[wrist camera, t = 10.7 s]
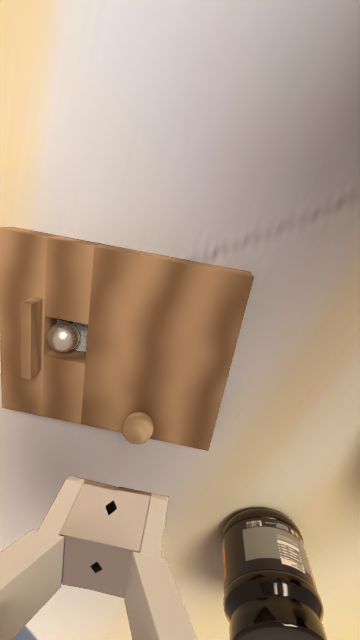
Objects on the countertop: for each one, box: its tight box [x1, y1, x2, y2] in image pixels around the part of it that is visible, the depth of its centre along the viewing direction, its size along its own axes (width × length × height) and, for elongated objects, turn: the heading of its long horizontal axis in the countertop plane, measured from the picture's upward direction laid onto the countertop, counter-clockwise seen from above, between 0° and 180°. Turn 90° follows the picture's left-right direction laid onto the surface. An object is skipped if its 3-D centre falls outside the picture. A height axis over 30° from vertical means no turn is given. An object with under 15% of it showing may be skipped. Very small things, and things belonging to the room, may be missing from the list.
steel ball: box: [47, 322, 80, 352], centre depth 31 cm, size 3×3×3 cm
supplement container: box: [221, 509, 327, 640], centre depth 34 cm, size 10×10×12 cm
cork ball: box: [123, 412, 154, 444], centre depth 31 cm, size 3×3×3 cm
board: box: [0, 227, 254, 451], centre depth 31 cm, size 24×20×4 cm
